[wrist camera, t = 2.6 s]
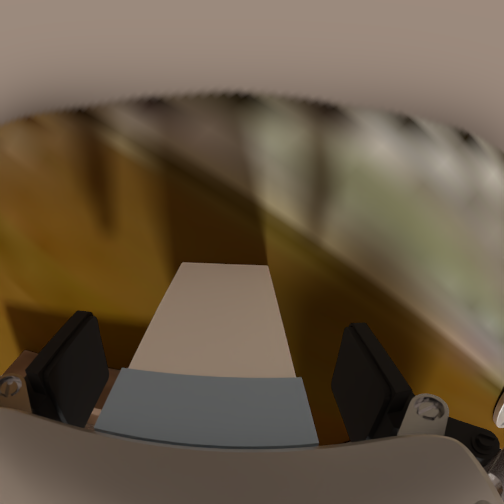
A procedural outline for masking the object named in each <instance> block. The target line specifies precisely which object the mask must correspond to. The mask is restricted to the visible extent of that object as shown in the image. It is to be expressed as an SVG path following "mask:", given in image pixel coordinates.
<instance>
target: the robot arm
mask: <svg viewBox="0 0 504 504" xmlns="http://www.w3.org/2000/svg"><path fill="white" fill-rule="evenodd" d="M25 372H26V374H27V375H26V376H25V377H24V378H23V377H22V376H21V375H19V374H16V373H9V374H5V375H2V376H0V504H504V448H503V449H502V450H501V449H500V444H499V441H498V438H497V437H496V436H495V434H493V433H492V432H491V431H489V430H486V429H483V428H480V427H477V426H474V425H471V424H468V423H465V422H462V421H459V420H456V419H453V418H450V417H448V415H449V409H448V406H447V404H446V403H445V402H444V401H443V400H442V399H441V398H439V397H437V396H435V395H431V394H420V395H416V396H415V395H414V394H413V392H412V389H411V388H410V386H409V385H408V383H407V382H406V380H405V379H404V377H403V376H402V374H401V373H400V371H399V370H398V368H397V367H396V365H395V364H394V363H393V361H392V360H391V358H390V357H389V355H388V354H387V352H386V351H385V349H384V348H383V347H382V345H381V344H380V342H379V341H378V339H377V338H376V337H375V335H374V334H373V332H372V331H371V330H370V328H369V327H368V325H367V324H366V323H351V324H350V325H349V327H346V328H345V329H344V333H343V337H342V342H341V346H340V350H339V354H338V358H337V362H336V366H335V370H334V374H333V378H332V382H331V387H332V391H333V394H334V397H335V399H336V402H337V405H338V408H339V410H340V413H341V416H342V418H343V421H344V424H345V427H346V429H347V432H348V435H349V438H350V440H351V442H350V443H343V444H334V445H324V446H314V447H301V448H284V449H220V448H203V447H190V446H180V445H171V444H163V443H156V442H149V441H143V440H137V439H131V438H125V437H120V436H115V435H110V434H106V433H101V432H97V431H93V430H89V429H85V426H86V424H87V421H88V419H89V417H90V415H91V413H92V411H93V409H94V407H95V405H96V403H97V401H98V399H99V397H100V395H101V393H102V391H103V389H104V387H105V385H106V383H107V381H108V379H109V370H108V366H107V362H106V358H105V354H104V349H103V345H102V341H101V336H100V331H99V326H98V321H97V318H96V317H95V316H93V314H92V313H91V312H86V311H77V312H76V313H75V314H74V315H73V316H72V317H71V318H70V319H69V320H68V321H67V322H66V323H65V324H64V326H63V327H62V328H61V329H60V330H59V331H58V332H57V333H56V334H55V336H54V337H53V338H52V339H51V340H50V341H49V342H48V343H47V345H46V346H45V347H44V348H43V349H42V350H41V351H40V353H39V354H38V355H37V356H36V357H35V359H34V360H33V361H32V362H31V363H30V364H29V366H28V367H27V368H26V369H25ZM493 421H494V423H495V424H496V425H497V427H499V428H504V392H503V394H502V395H501V397H500V399H499V401H498V403H497V406H496V408H495V411H494V415H493Z"/></svg>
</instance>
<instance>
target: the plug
mask: <svg viewBox="0 0 504 504" xmlns="http://www.w3.org/2000/svg"><path fill="white" fill-rule="evenodd" d="M94 429H95V431H97V432H101V433H106V434H110V435H115V436H120V437H125V438H131V439H137V440H143V441H149V442H156V443H163V444H171V445H180V446H190V447H203V448H220V449H284V448H301V447H314V446H318V445H319V441H318V437H317V433H316V429H315V425H314V422H313V418H312V414H311V410H310V407H309V403H308V399H307V395H306V392H305V388H304V384H303V380H302V377H296V375H295V371H294V367H293V363H292V359H291V355H290V351H289V347H288V343H287V339H286V335H285V331H284V327H283V323H282V319H281V315H280V311H279V307H278V303H277V299H276V296H275V292H274V288H273V284H272V280H271V276H270V272H269V268H268V265H240V264H214V263H189V262H182V264H181V265H180V267H179V269H178V271H177V273H176V275H175V276H174V278H173V280H172V282H171V284H170V286H169V288H168V290H167V291H166V293H165V295H164V297H163V299H162V301H161V303H160V305H159V307H158V309H157V311H156V313H155V315H154V317H153V319H152V321H151V322H150V324H149V326H148V328H147V330H146V332H145V334H144V336H143V338H142V341H141V343H140V345H139V347H138V349H137V351H136V353H135V355H134V357H133V359H132V361H131V363H130V365H129V367H128V368H122V369H121V371H120V373H119V375H118V377H117V379H116V381H115V383H114V385H113V387H112V389H111V391H110V393H109V395H108V398H107V400H106V402H105V404H104V406H103V408H102V410H101V412H100V415H99V417H98V419H97V421H96V423H95V426H94Z"/></svg>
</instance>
